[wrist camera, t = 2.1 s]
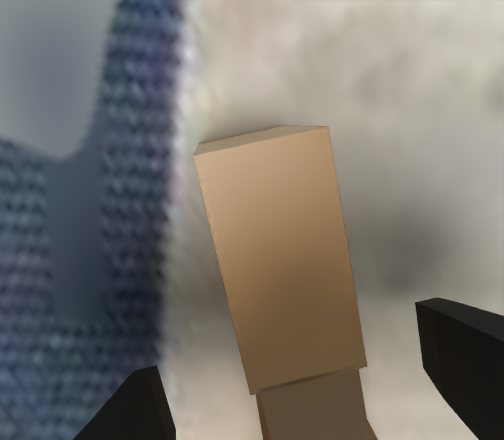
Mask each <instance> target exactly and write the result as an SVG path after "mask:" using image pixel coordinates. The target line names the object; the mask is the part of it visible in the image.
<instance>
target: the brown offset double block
mask: <svg viewBox="0 0 504 440" xmlns="http://www.w3.org/2000/svg"><path fill="white" fill-rule="evenodd" d="M193 158H194V162H195V166H196V171H197V175H198V179H199V183H200V187H201V191H202V196H203V200H204V204H205V208H206V212H207V216H208V221H209V225H210V229H211V233H212V237H213V241H214V246H215V250H216V254H217V258H218V262H219V266H220V271H221V275H222V279H223V283H224V287H225V291H226V296H227V300H228V304H229V308H230V312H231V317H232V321H233V325H234V329H235V333H236V337H237V342H238V346H239V350H240V354H241V358H242V362H243V367H244V371H245V375H246V379H247V383H248V387H249V392H250V395H254V394H256V399H257V405H258V411H259V417H260V423H261V429H262V435H263V440H378V439H377V437H376V435H375V433H374V431H373V430H372V428H371V426H370V424H369V422H368V420H367V417H366V411H365V405H364V399H363V393H362V388H361V382H360V376H359V370H358V369H360V368H364V367H367V362H366V356H365V350H364V344H363V338H362V331H361V325H360V319H359V313H358V307H357V301H356V294H355V288H354V282H353V276H352V270H351V264H350V258H349V251H348V245H347V239H346V233H345V227H344V221H343V215H342V208H341V202H340V196H339V190H338V184H337V178H336V171H335V165H334V159H333V153H332V147H331V141H330V135H329V128H328V126H288V125H283V126H279V127H274V128H270V129H265V130H260V131H256V132H251V133H247V134H242V135H237V136H233V137H228V138H223V139H219V140H214V141H210V142H205V143H200V144H199V146H198V147H197V149H196V151H195V153H194V155H193Z"/></svg>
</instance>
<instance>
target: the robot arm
mask: <svg viewBox="0 0 504 440" xmlns="http://www.w3.org/2000/svg"><path fill="white" fill-rule="evenodd" d="M415 306H416V313H417V321H418V329H419V337H420V345H421V353H422V361H423V368H424V370H425V371H426V373H427V374H428V376H429V377H430V379H431V381H432V382H433V384H434V385H435V387H436V388H437V390H438V391H439V393H440V394H441V396H442V397H443V398H444V400H445V401H446V402H447V403H448V404H449V406H450V407H451V408H452V409H453V410H454V412H455V413H456V414H457V415H458V416H459V417H460V419H461V420H462V421H463V422H464V423H465V424H466V425H467V427H468V428H469V429H470V430H471V431H472V432H473V433H474V435H475V436H476V437H477V438H478V439H479V440H504V316H502V315H498V314H495V313H492V312H488V311H485V310H482V309H478V308H475V307H472V306H468V305H465V304H461V303H458V302H454V301H451V300H447V299H442V298H432V299H428V300H424V301H420V302H416V303H415ZM73 440H176V429H175V425H174V422H173V418H172V415H171V412H170V408H169V405H168V402H167V398H166V395H165V391H164V388H163V385H162V381H161V378H160V374H159V371H158V368H157V365H156V366H152V367H148V368H143V369H139V370H135V371H134V372H133V373H132V374H131V375H130V376H129V377H128V378H127V379H126V380H125V381H124V382H123V384H122V385H121V386H120V387H119V388H118V390H117V391H116V392H115V393H114V394H113V395H112V397H111V398H110V399H109V400H108V401H107V402H106V404H105V405H104V406H103V407H102V408H101V409H100V411H99V412H98V413H97V414H96V415H95V416H94V417H93V419H92V420H91V421H90V422H89V423H88V424H87V425H86V426H85V427H84V428H83V429H82V430H81V431H80V432H79V434H78V435H77V436H76V437H75V438H74V439H73Z"/></svg>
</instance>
